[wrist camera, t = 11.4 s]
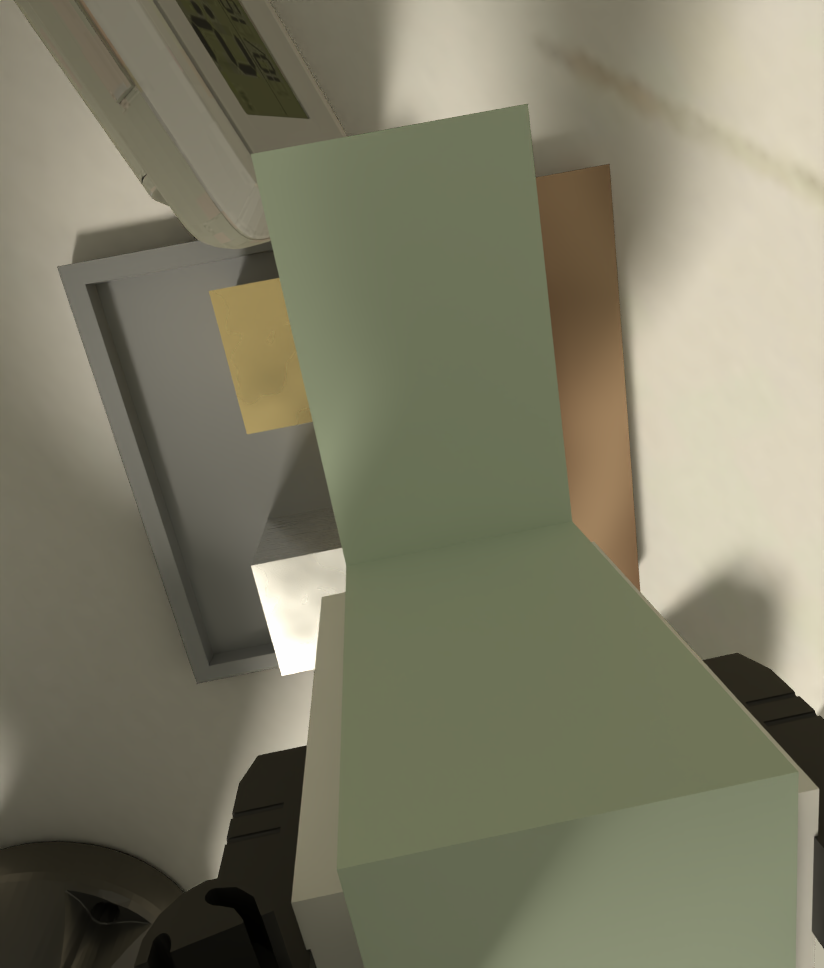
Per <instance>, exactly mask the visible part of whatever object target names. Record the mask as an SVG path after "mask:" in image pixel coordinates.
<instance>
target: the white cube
mask: <svg viewBox="0 0 824 968" xmlns="http://www.w3.org/2000/svg"><path fill="white" fill-rule="evenodd" d="M251 568H252V572H253V575H254V579H255V582H256V586H257V589H258V593H259V596H260V600H261V603H262V607H263V611H264V614H265V618H266V621H267V625H268V628H269V632H270V635H271V639H272V642H273V646H274V650H275V653H276V657H277V660H278V664H279V667H280V671H281V674H282V676H283V675H288V674H293V673H298V672H303V671H308V670H313V669H315V661H316V651H317V641H318V631H319V621H320V611H321V601H322V597H324V596H329V595H334V594H339V593H343V592H345V591H346V563H345V559H344V554H343V550H342V546H341V542H340V537H339V533H338V529H337V524H336V520H335V516H334V511H333V507H328V508H323V509H318V510H313V511H307V512H302V513H297V514H292V515H287V516H282V517H277V518H272V519H267V522H266V525H265V528H264V531H263V533H262V536H261V539H260V542H259V545H258V547H257V550H256V553H255V556H254V559H253V561H252V564H251Z"/></svg>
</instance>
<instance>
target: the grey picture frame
mask: <svg viewBox="0 0 824 968" xmlns="http://www.w3.org/2000/svg"><path fill="white" fill-rule="evenodd" d="M14 1H15V3H16V4H17V5H18V7H19V8H20V10H21V11H22V13H23V14H24V15H25V17H26V18H27V20H28V21H29V23H30V24H31V26H32V27H33V28H34V30H35V31H36V33H37V34H38V36H39V37H40V38H41V40H42V41H43V43H44V44H45V46H46V47H47V49H48V50H49V51H50V53H51V54H52V56H53V57H54V59H55V60H56V61H57V63H58V64H59V66H60V67H61V69H62V70H63V72H64V73H65V74H66V76H67V77H68V79H69V80H70V82H71V83H72V84H73V86H74V87H75V89H76V90H77V92H78V93H79V95H80V96H81V97H82V99H83V100H84V102H85V103H86V105H87V106H88V107H89V109H90V110H91V112H92V113H93V115H94V116H95V117H96V119H97V120H98V122H99V123H100V125H101V126H102V128H103V129H104V130H105V132H106V133H107V135H108V136H109V138H110V139H111V140H112V142H113V143H114V145H115V146H116V148H117V149H118V151H119V152H120V153H121V155H122V156H123V158H124V159H125V161H126V162H127V163H128V165H129V166H130V168H131V169H132V171H133V172H134V174H135V175H136V176H137V178H138V179H139V181H140V182H141V184H142V185H143V186H144V188H145V189H146V191H147V192H148V194H149V195H150V196H151V197H152V198H153V199H154V200H156V201H158V202H161V203H163V204H165V205H168V206H170V208H171V209H172V210H173V212H174V213H175V215H176V216H177V217H178V219H179V220H180V222H181V223H182V224H183V225H184V226H185V228H186V229H187V230H188V231H189V232H190V233H191V234H192V235H193V236H194V237H195V238H196V239H198V240H199V241H201V242H203V243H205V244H207V245H211V246H214V247H218V248H226V249H242V248H247V247H250V246H254V245H258V244H262V243H265V242H268V241H271V239H270V235H269V231H268V227H267V222H266V218H265V214H264V209H263V205H262V201H261V196H260V192H259V188H258V183H257V179H256V175H255V170H254V166H253V162H252V158H251V154H254V153H260V152H265V151H271V150H276V149H282V148H287V147H293V146H298V145H304V144H309V143H315V142H320V141H326V140H331V139H337V138H342V137H347V135H346V133H345V131H344V130H343V128H342V126H341V124H340V123H339V121H338V119H337V117H336V115H335V114H334V112H333V110H332V109H331V107H330V105H329V103H328V102H327V100H326V98H325V96H324V95H323V93H322V91H321V90H320V88H319V86H318V84H317V83H316V81H315V79H314V77H313V76H312V74H311V72H310V71H309V69H308V67H307V65H306V64H305V62H304V60H303V58H302V57H301V55H300V53H299V52H298V50H297V48H296V46H295V45H294V43H293V41H292V39H291V38H290V36H289V34H288V33H287V31H286V29H285V27H284V26H283V24H282V22H281V20H280V19H279V17H278V15H277V14H276V12H275V10H274V8H273V7H272V5H271V3H270V1H269V0H14Z"/></svg>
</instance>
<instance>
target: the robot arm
mask: <svg viewBox="0 0 824 968" xmlns="http://www.w3.org/2000/svg"><path fill="white" fill-rule="evenodd" d="M591 543H592V544H593V545H594V546H595V547H596V548H597V549H598V550H599V552H600V553H601V554H602V555H603V556H604V557H605V558H606V559H607V560H608V561H609V563H610V564H611V565H612V566H613V567H614V568H615V569H616V570H617V571H618V573H619V574H620V575H621V576H622V577H623V578H624V579H625V580H626V581H627V582H628V584H629V585H630V586H631V587H632V588H633V589H634V590H635V591H636V592H637V594H638V595H639V596H640V597H641V598H642V599H643V600H644V601H645V602H646V604H647V605H648V606H649V607H650V608H651V609H652V610H653V611H654V612H655V613H656V615H657V616H658V617H659V618H660V619H661V620H662V621H663V622H664V623H665V625H666V626H667V627H668V628H669V629H670V630H671V631H672V632H673V633H674V635H675V636H676V637H677V638H678V639H679V640H680V641H681V642H682V643H683V644H684V646H685V647H686V648H687V649H688V650H689V651H690V652H691V653H692V654H693V656H694V657H695V658H696V659H697V660H698V661H699V662H700V663H701V664H702V665H703V667H704V668H705V669H706V670H707V671H708V672H709V673H710V674H711V675H712V677H713V678H714V679H715V680H716V681H717V682H718V683H719V684H720V685H721V687H722V688H723V689H724V690H725V691H726V692H727V693H728V694H729V695H730V696H731V698H732V699H733V700H734V701H735V702H736V703H737V704H738V705H739V706H740V708H741V709H742V710H743V711H744V712H745V713H746V714H747V715H748V716H749V718H750V719H751V720H752V721H753V722H754V723H755V724H756V725H757V726H758V727H759V729H760V730H761V731H762V732H763V733H764V734H765V735H766V736H767V737H768V739H769V740H770V741H771V742H772V743H773V744H774V745H775V746H776V747H777V749H778V750H779V751H780V752H781V753H782V754H783V755H784V756H785V757H786V758H787V760H788V761H789V762H790V763H791V764H792V765H793V766H794V767H795V768H796V770H797V771H798V772H799V777H798V844H797V911H796V968H814V962H815V937H816V938H817V940H818V941H819V942H820V944H821V945H822V946H823V948H824V719H823V718H822V717H821V716H817V715H816V713H815V710H814V709H813V708H811V707H810V706H809V705H808V704H807V703H806V702H805V701H804V700H803V699H802V698H801V697H800V696H798V697H797V696H796V695H795V692H794V691H793V690H792V689H791V688H790V687H789V686H788V685H787V684H786V683H785V682H784V681H783V680H782V679H781V678H780V677H778V676H777V675H776V674H775V673H774V672H773V671H772V670H771V669H769V668H767V667H765V666H763V665H761V664H759V663H757V662H755V661H753V660H751V659H749V658H747V657H745V656H743V655H741V654H739V653H735V654H730V655H725V656H720V657H715V658H711V659H706V660H702V659H701V658H700V657H699V656H698V655H697V654H696V653H695V652H694V651H693V650H692V648H691V647H690V646H689V645H688V644H687V643H686V642H685V641H684V640H683V639H682V637H681V636H680V635H679V634H678V633H677V632H676V631H675V630H674V629H673V628H672V627H671V625H670V624H669V623H668V622H667V621H666V620H665V619H664V618H663V617H662V616H661V614H660V613H659V612H658V611H657V610H656V609H655V608H654V607H653V606H652V605H651V603H650V602H649V601H648V600H647V599H646V598H645V597H644V596H643V595H642V594H641V592H640V591H639V590H638V589H637V588H636V587H635V586H634V585H633V584H632V583H631V581H630V580H629V579H628V578H627V577H626V576H625V575H624V574H623V573H622V572H621V570H620V569H619V568H618V567H617V566H616V565H615V564H614V563H613V562H612V561H611V560H610V558H609V557H608V556H607V555H606V554H605V553H604V552H603V551H602V550H601V549H600V547H599V546H598V545H597V544H596V543H595V542H591ZM344 622H345V592H343V593H339V594H334V595H329V596H324V597H322V601H321V611H320V621H319V631H318V641H317V651H316V661H315V671H314V680H313V690H312V700H311V710H310V720H309V730H308V740H307V745H306V746H302V747H297V748H292V749H287V750H283V751H278V752H273V753H268V754H263V755H259V756H257V758H256V759H255V761H254V762H253V764H252V765H251V767H250V768H249V770H248V771H247V773H246V774H245V776H244V777H243V779H242V780H241V781H240V783H239V786H238V791H237V795H236V800H235V804H234V808H233V813H232V814H233V819H231V822H230V826H229V830H228V835H227V845H225V848H224V852H223V857H222V861H221V866H220V870H219V874H218V878H217V879H212V880H208V881H205V882H203V883H201V884H200V885H198V886H196V887H194V888H192V889H190V890H189V891H187V892H185V893H183V891H182V890H181V889H180V888H179V887H178V886H177V885H176V884H175V883H173V882H172V881H171V880H170V879H169V878H168V877H166V876H165V875H164V874H162V873H161V872H159V871H158V870H156V869H155V868H153V867H151V866H150V865H148V864H146V863H144V862H142V861H140V860H138V859H136V858H134V857H131V856H129V855H127V854H124V853H121V852H118V851H115V850H111V849H108V848H104V847H99V846H95V845H89V844H82V843H73V842H41V843H31V844H25V845H19V846H14V847H10V848H6V849H3V850H0V968H364V964H363V961H362V957H361V954H360V950H359V947H358V943H357V940H356V936H355V932H354V929H353V925H352V922H351V918H350V915H349V911H348V908H347V904H346V901H345V897H344V894H343V890H342V887H341V883H340V880H339V876H338V872H337V844H338V812H339V780H340V749H341V717H342V686H343V654H344Z"/></svg>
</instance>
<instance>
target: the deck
mask: <svg viewBox="0 0 824 968" xmlns="http://www.w3.org/2000/svg"><path fill="white" fill-rule="evenodd" d="M536 186H537V195H538V205H539V214H540V224H541V233H542V242H543V252H544V261H545V270H546V280H547V289H548V299H549V308H550V317H551V327H552V336H553V345H554V355H555V364H556V374H557V383H558V392H559V402H560V411H561V420H562V430H563V439H564V448H565V458H566V467H567V477H568V486H569V495H570V505H571V514H572V522H573V523H574V524H575V525H576V526H577V527H578V528H579V529H580V530H581V532H582V533H583V534H584V535H585V536H586V537H587V538H588V539H589V540H590V542H595V543H596V544H597V545H598V546H599V547H600V549H601V550H602V551H603V552H604V553H605V554H606V555H607V556H608V557H609V558H610V560H611V561H612V562H613V563H614V564H615V565H616V566H617V567H618V568H619V569H620V570H621V572H622V573H623V574H624V575H625V576H626V577H627V578H628V579H629V580H630V581H631V583H632V584H633V585H634V586H635V587H636V588H637V589H638V590H639V591H640V582H639V568H638V554H637V540H636V527H635V513H634V499H633V485H632V471H631V457H630V443H629V429H628V415H627V401H626V387H625V373H624V359H623V345H622V331H621V318H620V304H619V290H618V276H617V262H616V248H615V234H614V220H613V206H612V192H611V178H610V164H607V165H601V166H596V167H590V168H585V169H579V170H574V171H569V172H563V173H558V174H552V175H547V176H541V177H536Z"/></svg>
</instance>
